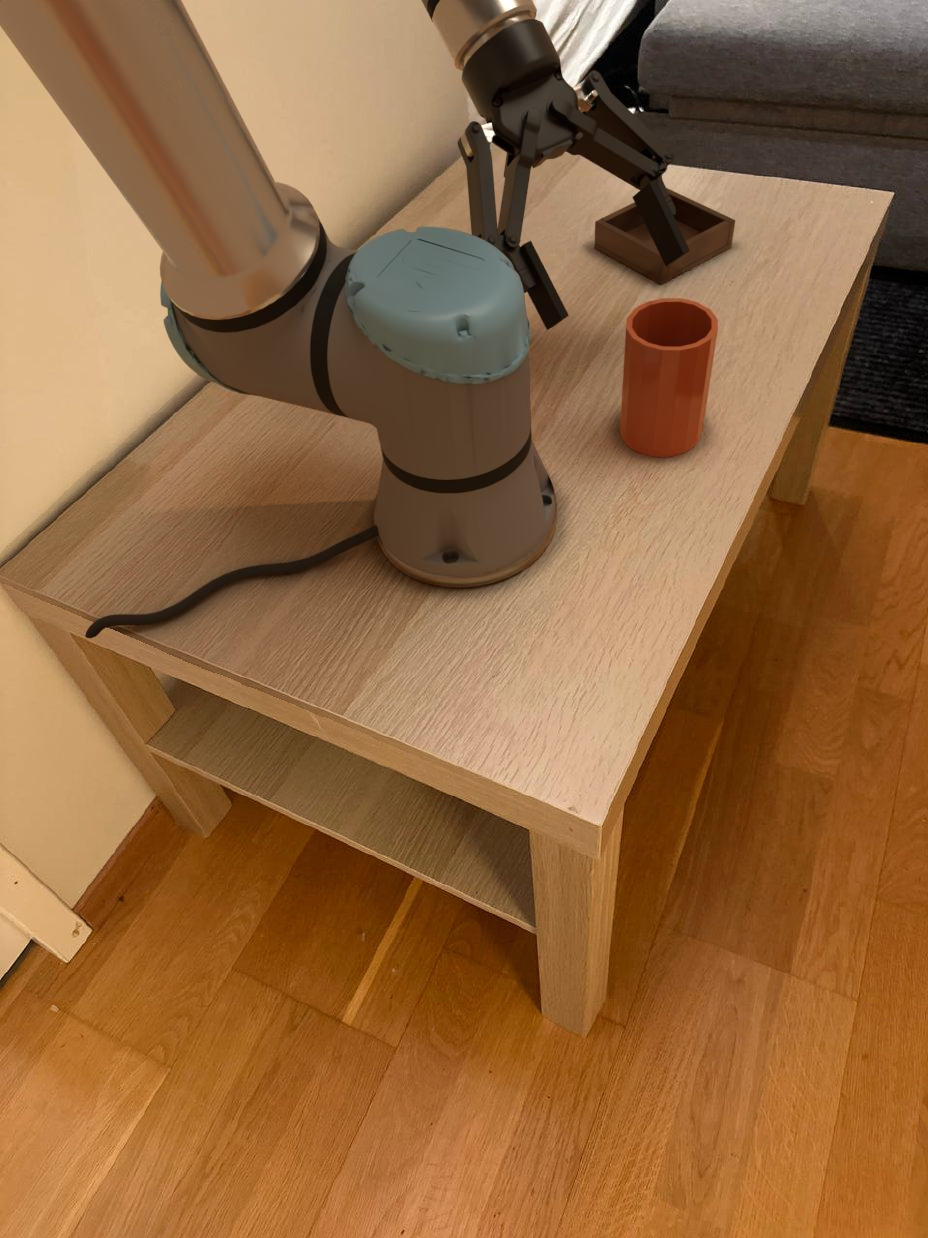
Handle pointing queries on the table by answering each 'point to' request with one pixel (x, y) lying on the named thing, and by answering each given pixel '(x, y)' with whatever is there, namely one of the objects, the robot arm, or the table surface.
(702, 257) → the tray
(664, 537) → the table surface
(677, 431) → the pencil cup
